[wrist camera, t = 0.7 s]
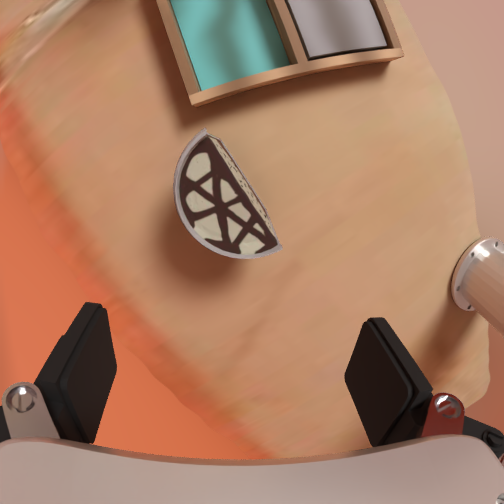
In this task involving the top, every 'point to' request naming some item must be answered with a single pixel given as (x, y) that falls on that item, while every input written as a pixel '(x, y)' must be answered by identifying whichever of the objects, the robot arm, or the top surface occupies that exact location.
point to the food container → (221, 202)
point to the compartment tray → (272, 41)
